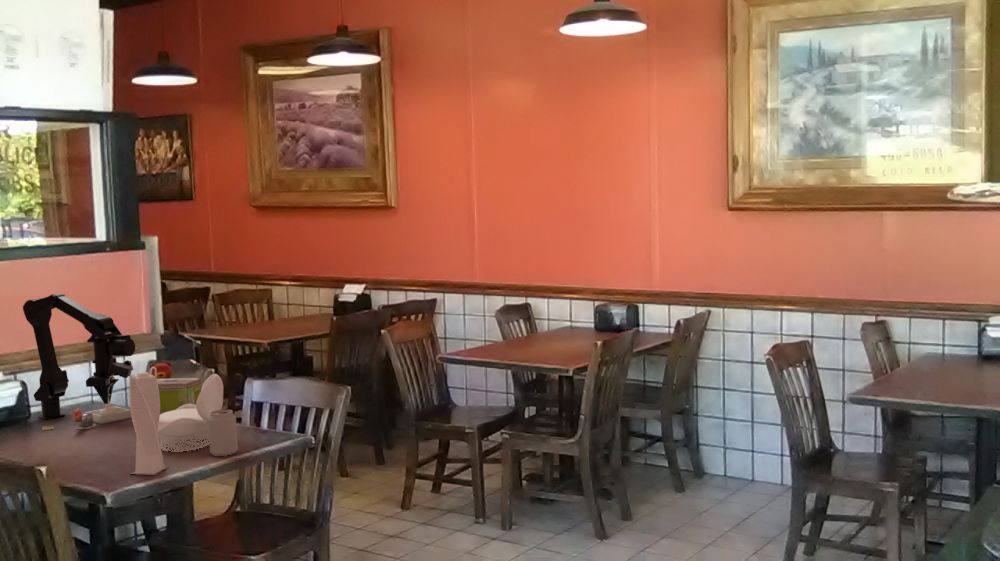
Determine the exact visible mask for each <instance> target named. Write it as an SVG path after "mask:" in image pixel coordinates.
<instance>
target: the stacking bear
mask: <svg viewBox="0 0 1000 561" xmlns="http://www.w3.org/2000/svg"><path fill="white" fill-rule="evenodd" d="M152 367H155V368H156V369H157V379H169V378H172V374H173V371H172V368H171V367H172V364H171V362H165V363H163V362H159V363H156V364H155V363H151V364H150V365H149V369H151V368H152ZM151 375H153V376H155V369H154V368H153V369H152V374H151Z"/></svg>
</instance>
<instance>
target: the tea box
mask: <svg viewBox="0 0 1000 561" xmlns="http://www.w3.org/2000/svg"><path fill="white" fill-rule="evenodd" d="M157 382H158V388H159V396H160V414H162V413H165V412H168V411H172V410H176V409H177V408H179V407H181V406H182V405H185V404H194V405H196V402H197V399H198V396H199V394H200V393H201V389H202V386H203V383H202V377H183V378H181V377H179V378H178V377H177V378H173V377H171V378H169V379H157ZM202 403H203V402H202ZM203 407H204V406H203ZM203 407H202V408H203ZM182 409H183V408H182ZM184 409H185V407H184ZM186 409H191V407H190V408H188V407H187V408H186Z"/></svg>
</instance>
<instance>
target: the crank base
mask: <svg viewBox="0 0 1000 561" xmlns="http://www.w3.org/2000/svg"><path fill="white" fill-rule="evenodd" d="M97 426H98V423H95V422H93V425H90V426H74V429H75V430H89V429H93V428H94V429H95V428H96V427H97Z"/></svg>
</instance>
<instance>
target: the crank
mask: <svg viewBox="0 0 1000 561" xmlns="http://www.w3.org/2000/svg"><path fill="white" fill-rule="evenodd" d="M72 416H73V426H74V427H75V426H90V425H93V423H94V422H93V414H92V413H85V412H82V408H81V407H77V408H76V409H75V410H73V412H72Z"/></svg>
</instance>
